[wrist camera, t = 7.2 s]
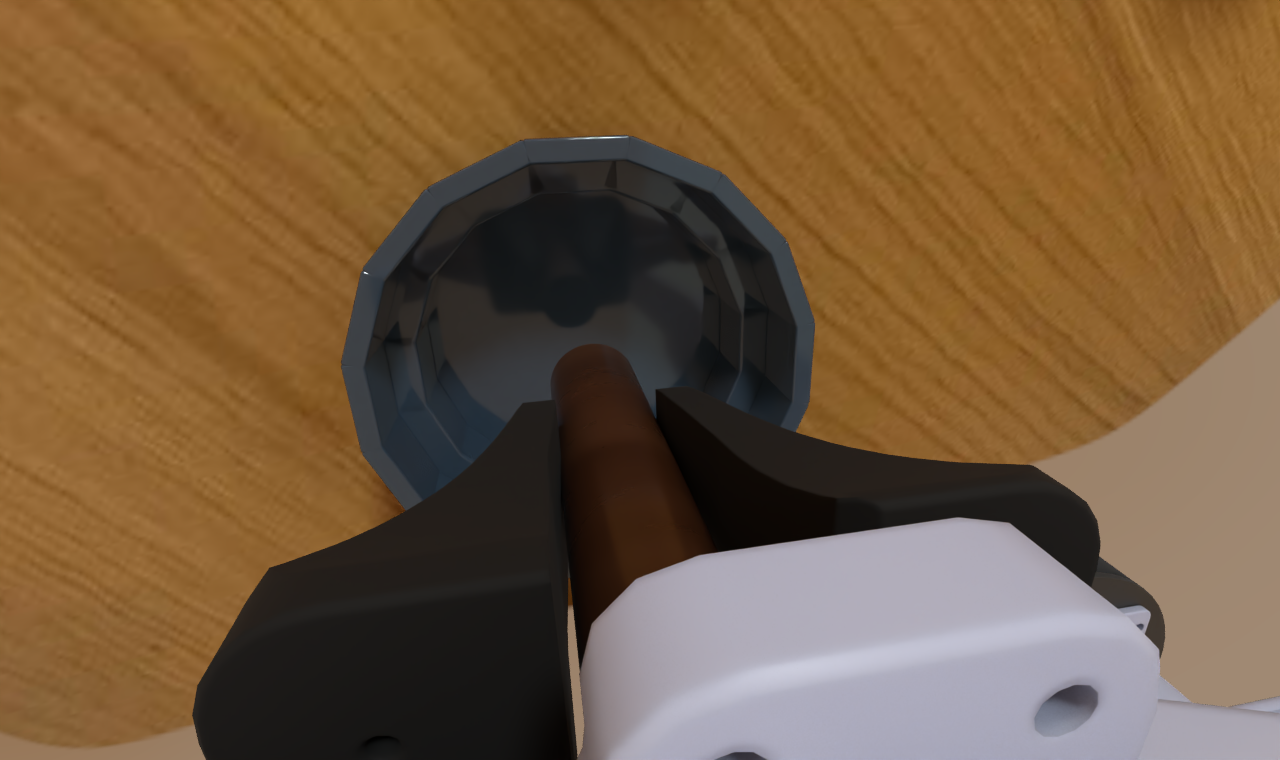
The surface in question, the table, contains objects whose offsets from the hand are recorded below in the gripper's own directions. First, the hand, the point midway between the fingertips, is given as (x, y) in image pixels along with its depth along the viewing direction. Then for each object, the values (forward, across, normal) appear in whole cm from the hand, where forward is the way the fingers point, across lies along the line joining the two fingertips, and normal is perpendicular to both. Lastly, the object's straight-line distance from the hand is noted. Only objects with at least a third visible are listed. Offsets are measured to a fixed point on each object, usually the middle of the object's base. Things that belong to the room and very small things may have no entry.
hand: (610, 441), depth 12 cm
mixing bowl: (+7, 0, 0) cm, 7 cm away
